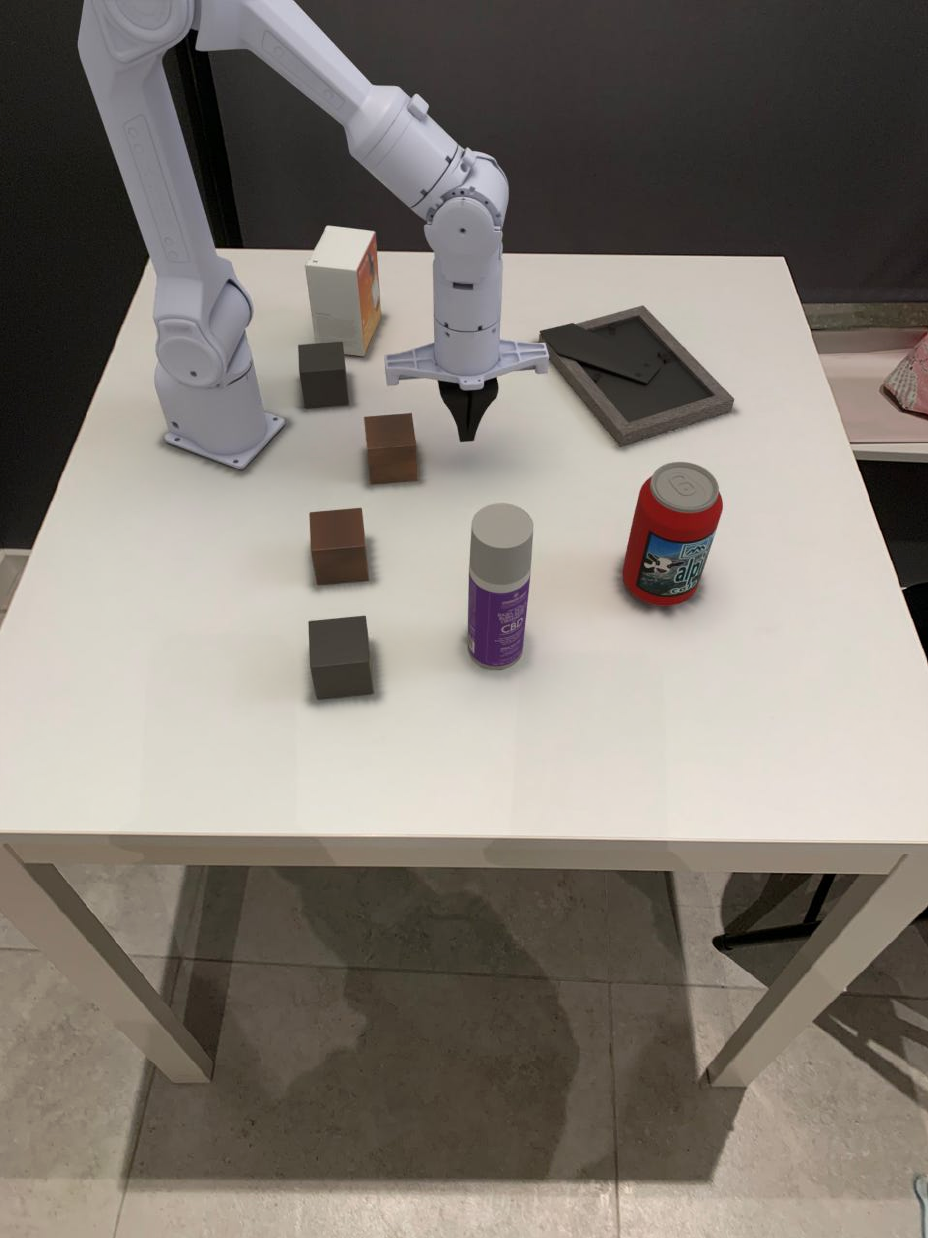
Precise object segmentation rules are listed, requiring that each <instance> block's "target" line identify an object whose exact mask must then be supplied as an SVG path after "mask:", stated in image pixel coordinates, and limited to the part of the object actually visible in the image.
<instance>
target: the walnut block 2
mask: <svg viewBox="0 0 928 1238" xmlns="http://www.w3.org/2000/svg"><path fill="white" fill-rule="evenodd" d="M413 418H414V417H413V413H412V412H404V413H394V414H381V415H367V416H363V422H364V423H363V424H364V433H365V441H366V442H365V443H366V451H367V452H366V453H367V461H368V472H369V483H370V485H383V484H393V483H404V482H405V483H406V482H417V481H419V474H418V471H419V470H418V449H417V439H416V433H415V432H416V431H415V426H414V419H413Z"/></svg>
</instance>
